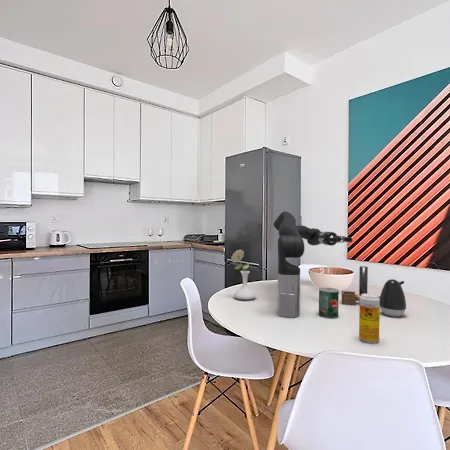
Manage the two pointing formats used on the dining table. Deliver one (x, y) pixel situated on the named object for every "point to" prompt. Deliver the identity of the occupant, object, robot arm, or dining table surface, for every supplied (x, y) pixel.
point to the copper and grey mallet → (363, 282)
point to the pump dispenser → (393, 298)
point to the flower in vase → (244, 291)
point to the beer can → (369, 318)
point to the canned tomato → (328, 303)
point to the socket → (348, 298)
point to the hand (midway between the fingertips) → (344, 240)
